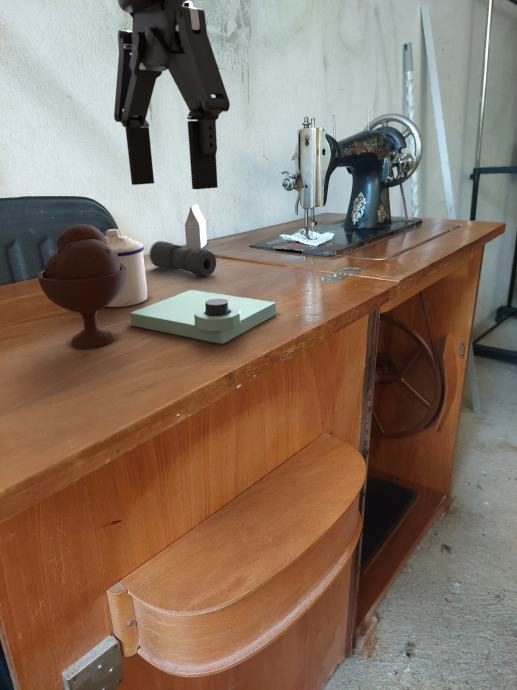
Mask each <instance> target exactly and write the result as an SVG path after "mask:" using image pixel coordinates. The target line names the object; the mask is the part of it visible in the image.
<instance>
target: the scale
mask: <svg viewBox="0 0 517 690" xmlns="http://www.w3.org/2000/svg"><path fill="white" fill-rule="evenodd" d="M210 299H226V300H228V305H229V314H227V315H224V316H208V315H206V308H205V302H206V301H207V300H210ZM276 315H277V302H275V301H269V300H262V299H261V300H260V299H255V298H251V297H250V298H249V297H242V296H237V295H229V294H223V293H215V292H208V291H202V290H195V289H189V290H187V291H184V292H182V293H179V294H176V295H173V296H170V297H168V298H165V299H163V300H160V301H158V302H155V303H152V304H150V305H147V306H144V307H142V308H139V309H137V310H134V311H131V312H129V319H130V326H133V327H137V328H142V329H147V330H153V331H156V332H162V333H166V334H172V335H176V336H181V337H186V338H191V339H195V340H201V341H205V342H209V343H210V342H211V343H215V344H220V345H224V344H225V343H227V342H229V341H231V340H232V339H234V338H236V337H238V336H240V335H242V334H243V333H245V332H247V331H249V330H250V329H253V328H254V327H256V326H258V325H260V324H261V323H263V322H265V321H267V320H269V319H271V318H273V317H274V316H276Z"/></svg>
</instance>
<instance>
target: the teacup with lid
mask: <svg viewBox="0 0 517 690" xmlns="http://www.w3.org/2000/svg"><path fill="white" fill-rule="evenodd" d="M104 236H105V238H106V241H107V245H108V246H109V247H111V249H112V250H113V252H114V251H115V252H116V253H117V255H118V258H119V261H120V263H122V264H124V265H125V266H126V268H127V281H126V283H125V286H124V289H123V291H122V292H121V293H120V294H119V296H118V297H117V298H116V299H115V300H114V301H113V302H111V303H110V304H109V305H108V306H106V307H105V308H123V307H131V306H134V305H138V304H141V303H143V302H145V301H146V300H147V299H148V288H147V277H146V269H145V260H144V259H145V258H144V250H145V247H144V245H143V243H142V242H141V241H137V240H133V239H131V238H129V237H127V236H126V235H121V234H120V230H119V229H117V228H111V229H107V230H106V235H104Z"/></svg>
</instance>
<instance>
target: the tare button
mask: <svg viewBox="0 0 517 690" xmlns="http://www.w3.org/2000/svg"><path fill="white" fill-rule="evenodd" d="M205 308H206V315H208V316H224V315H227V314H229V305H228V300H226V299H210V300H207V301H206V302H205Z"/></svg>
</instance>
